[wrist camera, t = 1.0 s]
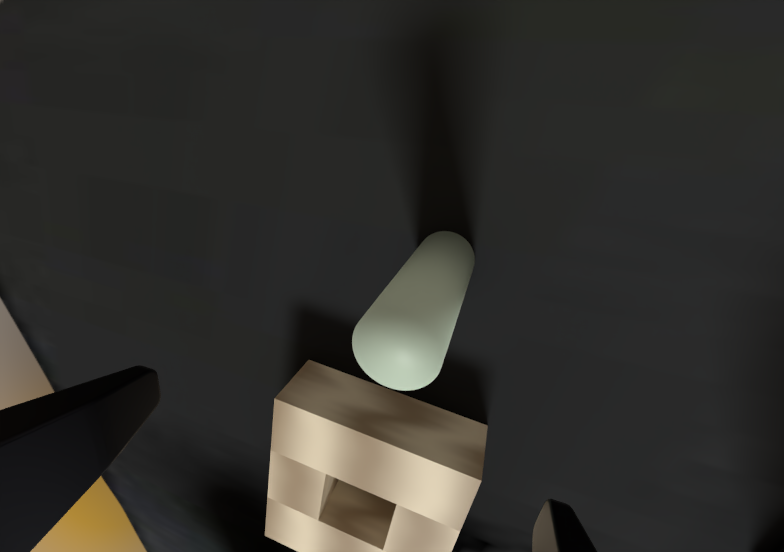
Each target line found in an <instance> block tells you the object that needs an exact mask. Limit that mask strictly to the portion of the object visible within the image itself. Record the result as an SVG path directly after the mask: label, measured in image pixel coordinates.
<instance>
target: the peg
mask: <svg viewBox="0 0 784 552" xmlns="http://www.w3.org/2000/svg"><path fill="white" fill-rule="evenodd" d="M474 263H475V256H474V252H473V249H472V247H471V245H470V244H469V242H468V241H467V240H466V239H465V238H463V237H462V236H461V235H459V234H457V233H454V232H450V231H440V232H436V233H433V234H431V235H429V236H428V237H427V238H425V239H424V241H423V242H422V243H421V244H420V246H419V247H418V248H417V249H416V251H415V252H414V253H413V254H412V256H411V257H410V258H409V259H408V261H407V262H406V263H405V264H404V266H403V267H402V268H401V269H400V271H399V272H398V273H397V274H396V276H395V277H394V278H393V279H392V281H391V282H390V283H389V284H388V286H387V287H386V288H385V289H384V291H383V292H382V293H381V294H380V296H379V297H378V298H377V299H376V301H375V302H374V303H373V304H372V306H371V307H370V308H369V310H368V311H367V312H366V313H365V315H364V316H363V317H362V318H361V320H360V321H359V322H358V324H357V325H356V327H355V329H354V332H353V336H352V347H353V352H354V355H355V358H356V360H357V362H358V363H359V365H360V367H361V368H362V369H363V371H364V372H365V373H366V374H367V375H368V376H370V377H371V378H372V379H373V380H375V381H376V382H378V383H380V384H381V385H383V386H386V387H388V388H392V389H396V390H403V391H409V390H416V389H420V388H422V387H425V386H427V385H428V384H430V383H431V382H432V381H433V380H434V379H435V378H436V377H437V376H438V374H439V372H440V370H441V367H442V364H443V361H444V358H445V355H446V352H447V349H448V346H449V343H450V339H451V336H452V333H453V330H454V327H455V324H456V321H457V318H458V314H459V311H460V308H461V305H462V302H463V299H464V296H465V293H466V289H467V286H468V283H469V280H470V277H471V274H472V271H473V268H474Z"/></svg>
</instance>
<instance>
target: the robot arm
mask: <svg viewBox="0 0 784 552" xmlns="http://www.w3.org/2000/svg"><path fill="white" fill-rule="evenodd" d="M160 398H161V393H160V387H159V381H158V375H157V372H156V371H155V370H153V369H150V368H147V367H144V366H134V367H131V368H128V369H125V370H122V371H119V372H116V373H113V374H110V375H107V376H104V377H100V378H97V379H94V380H91V381H88V382H85V383H82V384H79V385H76V386H73V387H70V388H67V389H64V390H61V391H58V392H54V393H52V394H48V395H45V396H42V397H39V398H36V399H33V400H30V401H27V402H24V403H21V404H18V405H15V406H11V407H8V408H5V409H3V410H0V552H30V551H31V550H32V549H33V548H34V547H35V546H36V545H37V543H39V541H40V540H41V539H42V538H43V537H44V536H45V535H46V534H47V533H48V532H49V531H50V530H51V529H52V528H53V526H54V525H55V524H56V523H57V522H58V521H59V520H60V519H61V518H62V517H63V516H64V515H65V514H66V513H67V511H68V510H69V509H70V508H71V507H72V506H73V505H74V504H75V503H76V502H77V501H78V500H79V499H80V497H81V496H82V495H83V494H84V493H85V492H86V491H87V490H88V489H89V488H90V487H91V486H92V485H93V484H94V482H95V481H96V480H97V479H98V478H99V477H100V476H101V475H102V474H103V473H104V472H105V470H106V469H107V468H108V467H109V466H110V465H111V464H112V462H113V461H114V460H115V459H116V458H117V456H118V455H119V454H120V453H121V451H122V450H123V449H124V448H125V446H126V445H127V444H128V443H129V441H130V440H131V439H132V437H133V436H134V435H135V434H136V432H137V431H138V430H139V429H140V427H141V426H142V425H143V423H144V422H145V421H146V420H147V418H148V417H149V416H150V415H151V413H152V412H153V411H154V409H155V408H156V407H157V405H158V404H159V401H160ZM532 552H597V551H596V549H595V547H594V545H593V544H592V542H591V540H590V538H589V537H588V535H587V533H586V531H585V530H584V528H583V526H582V524H581V523H580V521H579V519H578V518H577V516H576V514H575V512H574V511H573V509H572V508H571V507H570V506H569V505H568V504H565V503H562V502H559V501H556V500H553V499H548V500H547V501H546V502H545V504H544V506H543V508H542V510H541V512H540V514H539V516H538V519H537V521H536V523H535V526H534V530H533V545H532ZM776 552H784V544H783V545H782V546H781V547H780V548H779V549H778V550H777V551H776Z"/></svg>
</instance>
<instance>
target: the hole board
mask: <svg viewBox="0 0 784 552" xmlns="http://www.w3.org/2000/svg"><path fill="white" fill-rule="evenodd" d="M487 427H488V426H487V425H485V424H482V423H479V422H477V421H474V420H471V419H468V418H466V417H463V416H460V415H458V414H455V413H452V412H449V411H447V410H444V409H441V408H439V407H436V406H433V405H430V404H428V403H425V402H422V401H420V400H417V399H414V398H412V397H409V396H406V395H403V394H401V393H398V392H395V391H393V390H390V389H387V388H384V387H382V386H379V385H376V384H374V383H371V382H368V381H365V380H363V379H360V378H357V377H355V376H352V375H349V374H346V373H344V372H341V371H338V370H336V369H333V368H330V367H327V366H325V365H322V364H319V363H317V362H314V361H311V360H308V361H307V362H306V363H305V364H304V366H303V367H302V368H301V369H300V370H299V371H298V372H297V374H296V375H295V376H294V377H293V378H292V379H291V380H290V382H289V383H288V384H287V385H286V386H285V387H284V388H283V389H282V391H281V392H280V393H279V394H278V395H277V396H276V397H275V400H274V414H273V428H272V442H271V456H270V470H269V484H268V498H267V512H266V526H265V536H267V537H269V538H271V539H273V540H275V541H277V542H279V543H281V544H283V545H285V546H287V547H289V548H291V549H294V550H296V551H298V552H452V549H453V547H454V545H455V542H456V540H457V537H458V535H459V533H460V530H461V528H462V526H463V523H464V521H465V519H466V516H467V514H468V512H469V509H470V507H471V504H472V502H473V500H474V497H475V495H476V493H477V490H478V488H479V486H480V483H481V481H482V472H483V463H484V454H485V445H486V436H487Z"/></svg>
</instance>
